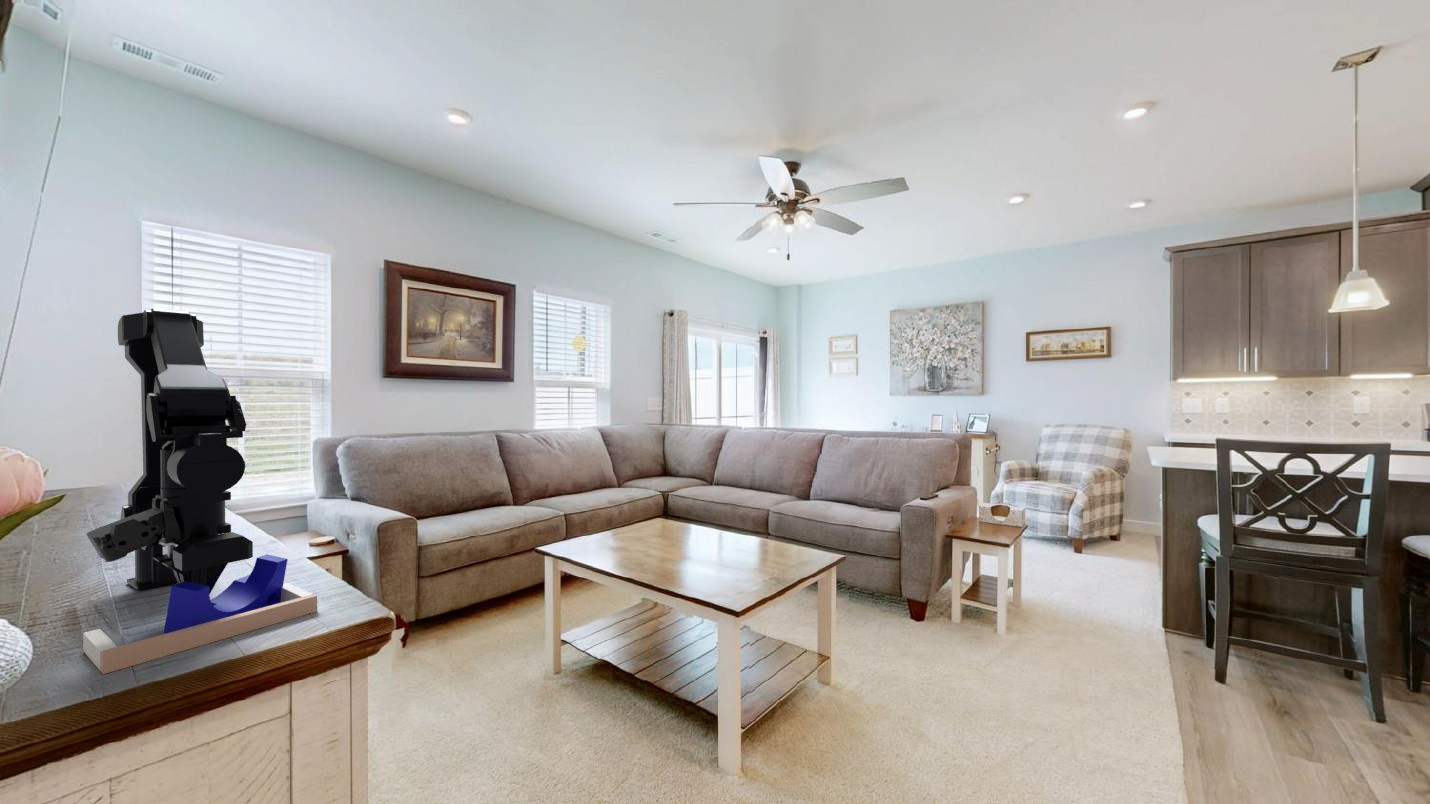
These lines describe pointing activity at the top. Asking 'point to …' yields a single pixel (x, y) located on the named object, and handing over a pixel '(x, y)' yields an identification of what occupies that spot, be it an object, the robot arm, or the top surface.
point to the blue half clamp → (226, 596)
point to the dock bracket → (195, 632)
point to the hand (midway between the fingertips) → (194, 611)
